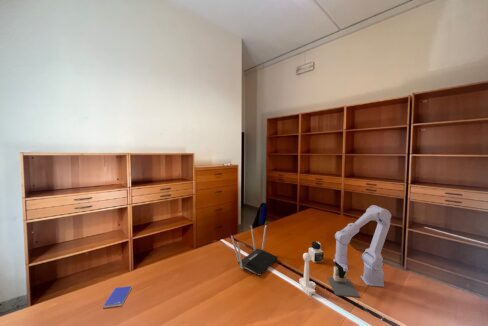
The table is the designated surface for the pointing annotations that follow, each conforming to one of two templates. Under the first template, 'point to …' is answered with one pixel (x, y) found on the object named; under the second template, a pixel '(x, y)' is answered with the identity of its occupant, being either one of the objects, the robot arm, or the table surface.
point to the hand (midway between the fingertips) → (340, 275)
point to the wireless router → (255, 257)
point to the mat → (343, 288)
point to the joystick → (307, 277)
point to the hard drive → (117, 297)
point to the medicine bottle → (316, 252)
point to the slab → (336, 275)
